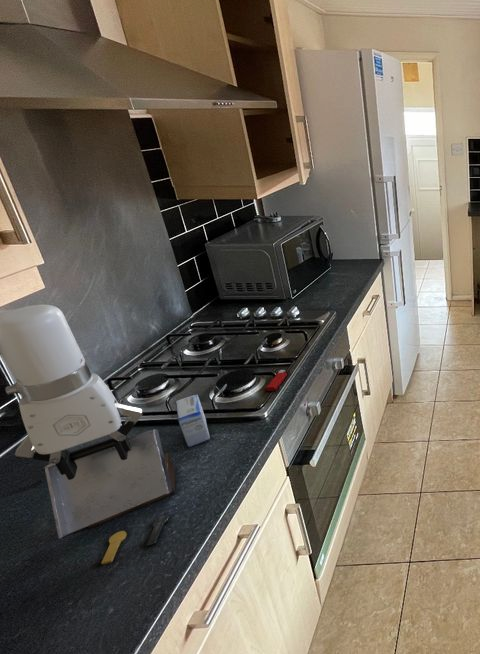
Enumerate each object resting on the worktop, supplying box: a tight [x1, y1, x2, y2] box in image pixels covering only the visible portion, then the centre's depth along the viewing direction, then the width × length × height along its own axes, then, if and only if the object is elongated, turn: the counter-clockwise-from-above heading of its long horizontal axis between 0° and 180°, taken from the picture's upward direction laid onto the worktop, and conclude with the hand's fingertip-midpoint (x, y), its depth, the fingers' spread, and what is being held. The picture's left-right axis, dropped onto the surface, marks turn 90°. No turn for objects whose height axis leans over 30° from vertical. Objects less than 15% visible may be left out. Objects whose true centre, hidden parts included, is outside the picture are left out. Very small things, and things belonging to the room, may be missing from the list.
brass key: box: [100, 530, 128, 566], centre depth 76 cm, size 2×6×1 cm, turn 23°
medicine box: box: [175, 394, 211, 448], centre depth 99 cm, size 8×4×9 cm, turn 40°
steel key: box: [146, 514, 170, 547], centre depth 79 cm, size 2×6×1 cm, turn 21°
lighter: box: [265, 369, 289, 392], centre depth 119 cm, size 3×1×8 cm
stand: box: [87, 452, 176, 529], centre depth 84 cm, size 13×7×5 cm, turn 127°
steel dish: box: [44, 428, 172, 539], centre depth 75 cm, size 15×13×8 cm
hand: (99, 463), depth 73 cm, fingers closed on steel dish, 6 cm apart
